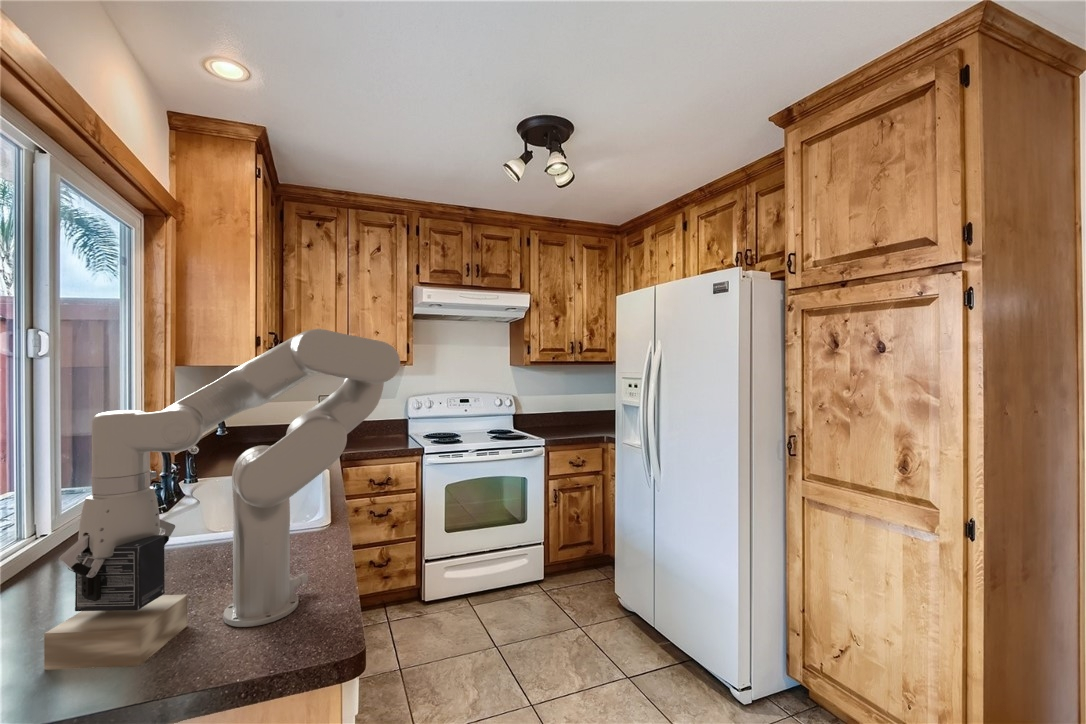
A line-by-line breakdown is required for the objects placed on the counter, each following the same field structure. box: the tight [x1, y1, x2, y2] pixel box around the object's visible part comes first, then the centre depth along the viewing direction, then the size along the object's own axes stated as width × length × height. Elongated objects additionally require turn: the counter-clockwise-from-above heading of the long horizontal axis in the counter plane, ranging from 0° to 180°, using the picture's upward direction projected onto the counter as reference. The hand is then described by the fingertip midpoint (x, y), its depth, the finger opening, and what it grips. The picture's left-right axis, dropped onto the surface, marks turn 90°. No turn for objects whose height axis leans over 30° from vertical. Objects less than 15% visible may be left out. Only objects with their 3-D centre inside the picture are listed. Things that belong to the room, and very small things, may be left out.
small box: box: [74, 534, 166, 612], centre depth 85 cm, size 11×6×10 cm, turn 91°
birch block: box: [43, 593, 188, 671], centre depth 85 cm, size 12×14×6 cm
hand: (122, 587), depth 85 cm, fingers closed on small box, 8 cm apart
